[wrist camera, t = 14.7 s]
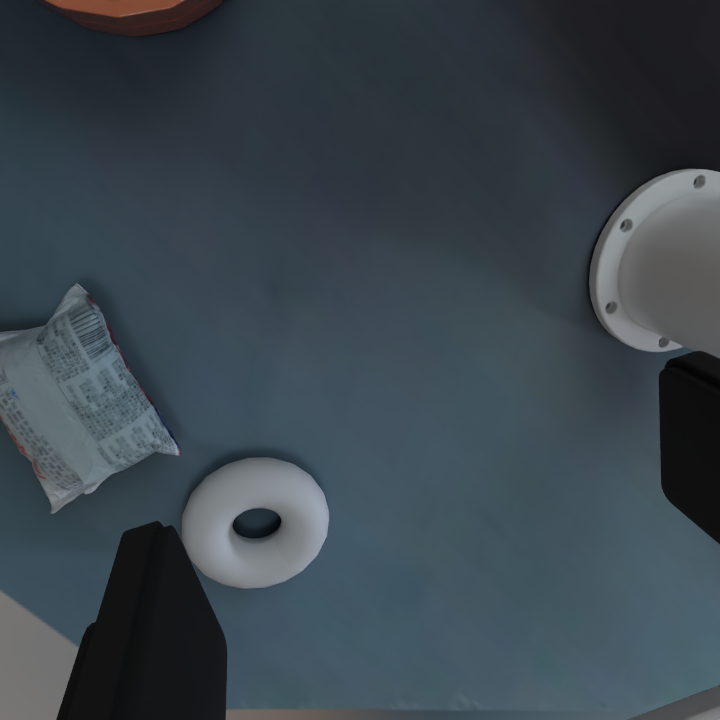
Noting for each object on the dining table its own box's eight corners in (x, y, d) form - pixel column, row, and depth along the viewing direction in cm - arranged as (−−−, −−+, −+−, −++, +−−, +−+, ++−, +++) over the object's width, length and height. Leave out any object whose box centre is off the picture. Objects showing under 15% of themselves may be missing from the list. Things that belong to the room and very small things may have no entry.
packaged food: (62, 488, 37) (39, 536, 32) (-51, 328, 32) (-97, 358, 27) (188, 435, 37) (182, 475, 33) (95, 270, 32) (74, 291, 28)
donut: (227, 423, 38) (156, 538, 39) (227, 448, 34) (150, 572, 36) (351, 481, 41) (280, 583, 43) (361, 508, 38) (284, 618, 40)
